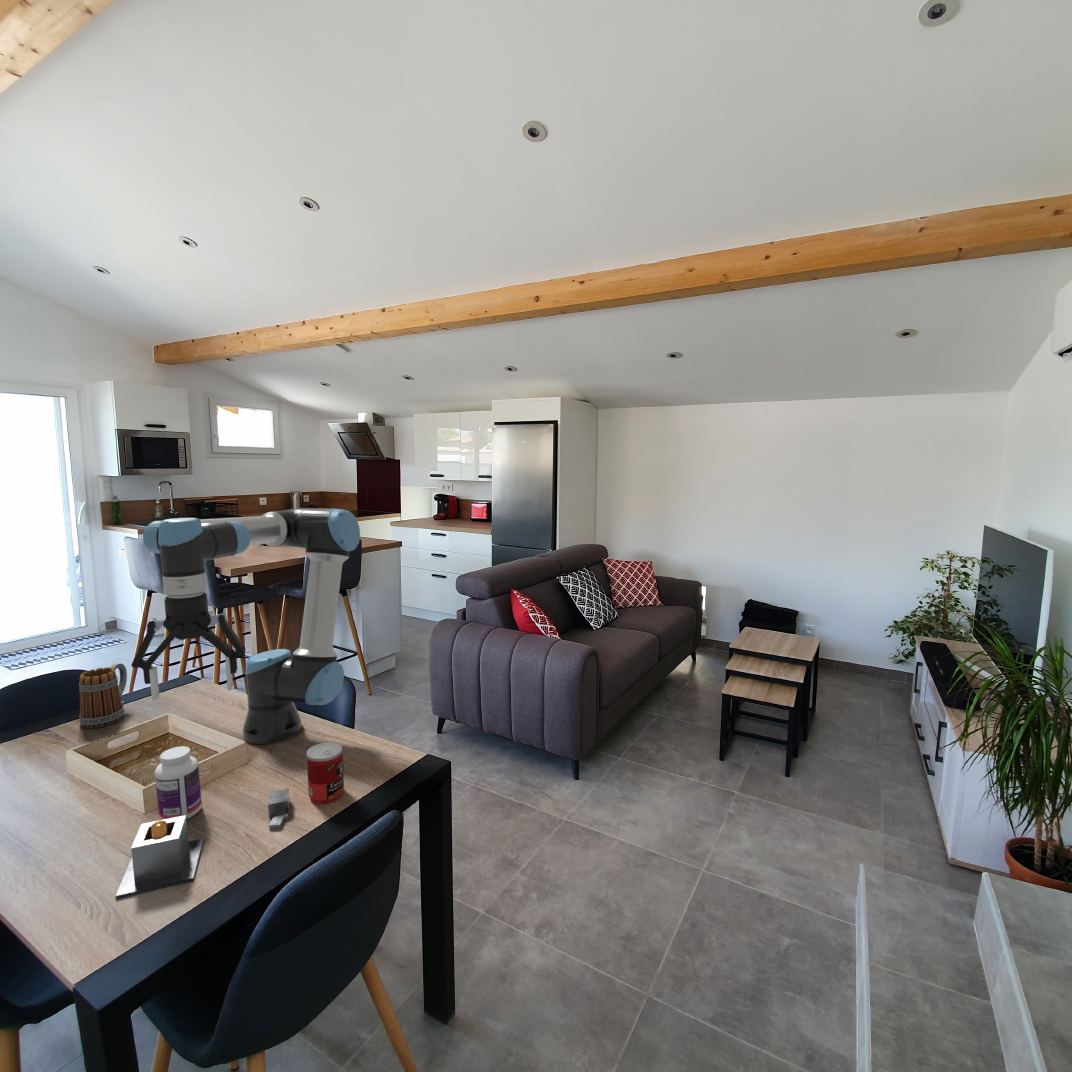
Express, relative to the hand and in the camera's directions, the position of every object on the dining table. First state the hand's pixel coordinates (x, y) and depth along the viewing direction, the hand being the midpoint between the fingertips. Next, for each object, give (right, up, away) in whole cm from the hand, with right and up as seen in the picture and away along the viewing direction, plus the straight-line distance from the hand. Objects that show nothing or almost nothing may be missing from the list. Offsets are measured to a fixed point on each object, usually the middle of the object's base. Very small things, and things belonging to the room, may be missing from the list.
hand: (193, 693), depth 120 cm
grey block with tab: (+16, -28, +5) cm, 33 cm away
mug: (-56, -22, +52) cm, 80 cm away
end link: (0, -30, -11) cm, 32 cm away
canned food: (+23, -27, +13) cm, 38 cm away
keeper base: (0, -31, -11) cm, 32 cm away
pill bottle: (-6, -28, +6) cm, 30 cm away
